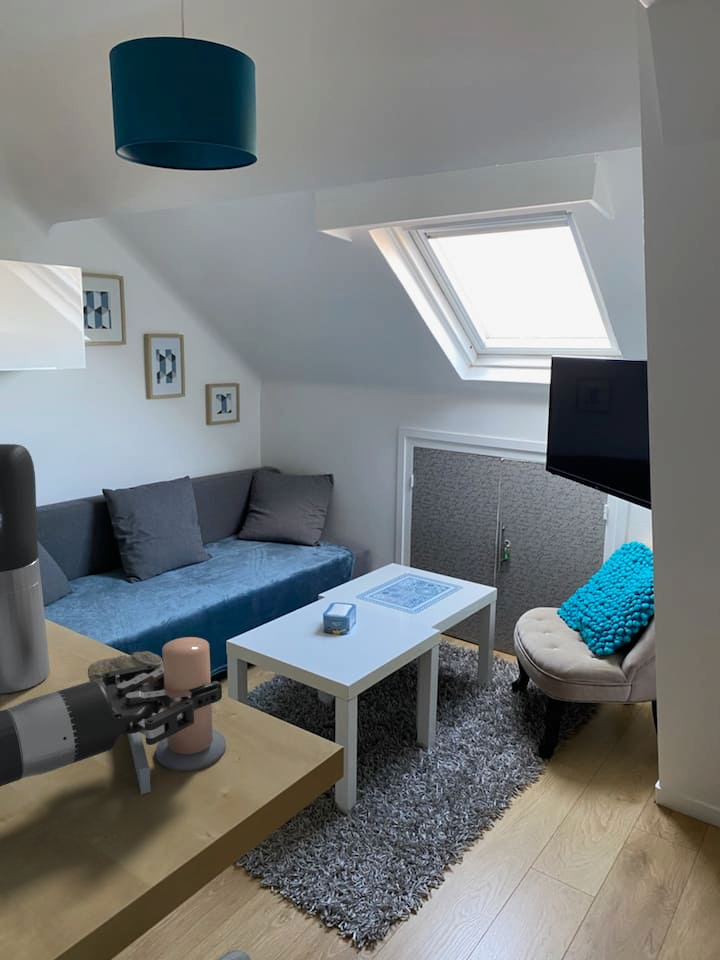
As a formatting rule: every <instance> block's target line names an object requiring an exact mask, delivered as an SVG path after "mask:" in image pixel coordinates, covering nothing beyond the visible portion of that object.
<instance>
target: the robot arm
mask: <svg viewBox="0 0 720 960" xmlns="http://www.w3.org/2000/svg"><path fill="white" fill-rule="evenodd" d="M34 465H35V464H34V461H33V457H32V456H31V454H30V452H29V450H28V449H27V448H26V447H25V446H23V445H21V444H17V443H15V444H14V443H12V444H10V443H6V444H5V443H2V444H1V443H0V515H1V525H0V694H9V693H10V694H11V693H15V692H20V691H23V690H26V689H30V688H32V687H34V686H37V685H38V684H40V683H41V682H43V681H44V680H46V678H48V676H49V675H50V673H51V669H50V658H49V656H50V655H49V649H48V648H49V647H48V636H47V635H48V634H47V625H46V616H45V608H44V607H45V605H44V598H43V597H44V596H43V585H42V578H41V567H40V559H39V548H38V545H39V544H38V543H39V542H38V541H39V539H38V538H39V533H38V531H39V529H38V527H39V526H38V517H37V516H38V515H37V496H36V495H37V494H36V493H37V489H36V487H37V485H36V471H35V467H34ZM139 674H140V675H139ZM136 675H139V676H137V677H135V676H136ZM134 677H135V678H134ZM102 678H103V681H102V682H103V685H102V684H101V683H100V682H98V681H90V680H89V681H87V682H83V683H80V684H77V685H74V686H73V685H72V686H70V687H66V688H64V689H61V690H57V691H53V692H49V693H46V694H43V695H39V696H37V697H34V698H30V699H28V700H27V699H26V700H25V701H22V702H21V703H19V704H18V703H17V704H16V705H14V706H11V707H8V708H6V709H2V710H0V787H4V786H6V785H8V784H11V783H15V782H17V781H20V780H22V779H27V778H29V777H34V776H40V775H43V774H46V773H50V772H53V771H56V770H58V769H61V768H64V767H67V766H69V765H72V764H75V763H79V762H81V761H84V760H86V759H90V758H92V757H94V756H97V755H100V754H104V753H106V752H108V751H110V750H113V748H114V746H115V744H116V741H117V740H118V739H119V737H120V736H124V735H128V734H132V733H137V732H140V733H141V735H144V736H145V744H146V745H149V746H152V745H155V744H158V743H159V742H160V741H161V740H163V739H165V738H167V737H169V736H171V735H173V734H175V733H177V732H178V731H180V730H182V729H184V728H186V727H188V726H190V725H192V724H193V723H194V710H196V709H198V708H201V707H204V706H207V705H209V704H211V705H212V704H214V703H217V702H220V700H221V699H222V697H223V692H222V691H223V688H222V684H221V682H219V681H217V680H214V681H212V682H211V683H208V684H205V685H202V686H200V687H197V688H193V689H190V690H189V691H182V692H175V693H170V692H169V691H168V690H165V689H164V670H163V668H160V669H155V665H154V664H147V665H142V666H137V667H132V668H126V669H121V670H116V671H111V672H106V673H104V674H103V675H102ZM123 680H124V681H123ZM154 686H155V687H154ZM158 700H160V701H162V702H161V703H162V711H160V705H159V702H158ZM177 701H181V702H180V703H178V704H176V705H174V706H172V707H170V703H172V702H177ZM178 717H183V718H181V719H179V720H177V718H178Z"/></svg>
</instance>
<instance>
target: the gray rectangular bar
mask: <svg viewBox="0 0 720 960" xmlns="http://www.w3.org/2000/svg"><path fill="white" fill-rule="evenodd" d="M127 737H128V741H129V745H130V750H131V754H132V759H133V763H134V767H135V772H136V777H137V781H138V785H139V791H140V794H141V795H145V794H147V793H151V791H152V790H151V773H150V772H151V771H150V766H149V762H148V757H147V754H146V753H147V752H146V749H145V746H144V742H143V741H144V740H143V737H142V733H140V732H137V733H132V734H127Z"/></svg>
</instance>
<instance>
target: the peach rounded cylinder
mask: <svg viewBox="0 0 720 960" xmlns="http://www.w3.org/2000/svg"><path fill="white" fill-rule="evenodd" d="M162 661H163V670H164V689H165V690H168V691H169V692H170V693H175V692H182V691H189V690H190V689H193V688H197V687H200V686H202V685H205V684H208V683H211V678H212V677H211V656H210V643H209V642H208V640H206V639H205V638H204V639H203V638H201V637H196V636H195V637H194V636H188V637H180V638H176V639H172V640H170V641H168V642H166V643H165V644H164V645H163V646H162ZM180 702H181V701H177V702H172V703H170V707H172V706H174V705H176V704H178V703H180ZM212 705H213V704H212V703H211V704H209V705H207V706H204V707H201V708H198V709H196V710H194V723H193V724H192V725H190V726H188V727H186V728H184V729H182V730H180V731H178V732H177V733H175V734H173V735H171V736H169V737H167V745H168V748H169V749H170V750H171V751H173V752H175V753H179V754H193V753H197V752H200V751H203V750H204V749H206V748H208V747H209V746H210V745H211V743H212V741H213V731H212V729H213V711H212V710H213V709H212V708H213V707H212ZM181 718H183V717H178V718H177V720H179V719H181Z"/></svg>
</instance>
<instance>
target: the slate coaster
mask: <svg viewBox="0 0 720 960" xmlns="http://www.w3.org/2000/svg"><path fill="white" fill-rule="evenodd" d="M212 731H213V741H212V743H211V745H210V746H209V747H208V748H206V749H204V750H203V751H200V752H197V753H193V754H179V753H175V752H173V751H171V750H170V749H169V748H168V745H167V738H165V739H163V740H161V741H159V742H158V743H157V746H156V749H155V753H156V754H155V755H156V760H157V762H158V763H159V764H160V765H161V766H162V767H164V768H166V769H168V770H172V771H179V772H192V771H197V770H200V769H204V768H207V767H208V766H211V765H213V764H214V763H216V762H217V761H219V760H220V759H221V758H222V757H223V755H224V754H225V752H226V748H227V747H226V746H227V744H226V738H225V736H224V734H222V733H221V732H220V731H219V730H217V729H214V728H212Z"/></svg>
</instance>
